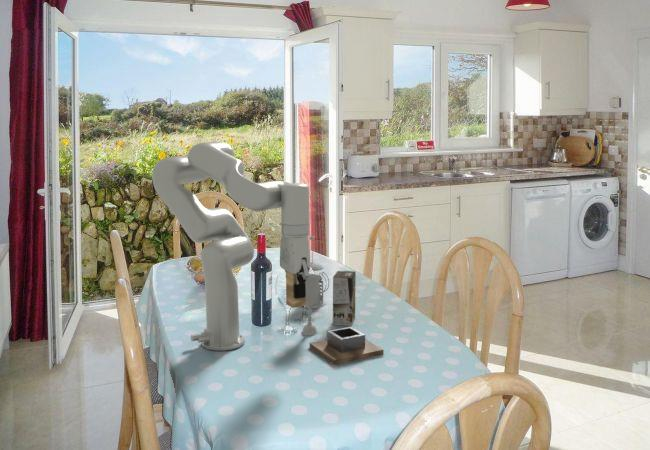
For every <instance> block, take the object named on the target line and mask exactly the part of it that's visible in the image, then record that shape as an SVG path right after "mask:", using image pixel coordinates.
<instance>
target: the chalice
mask: <svg viewBox="0 0 650 450" xmlns="http://www.w3.org/2000/svg"><path fill="white" fill-rule="evenodd" d="M321 277H322V275H321V274H320V275H319V274H314V273H313V274H312V273H309V277H308V278H307V280H306V306H308V308H307V311H306V313H307V317H306V319H307V323H306V324H305V325H303V328H302V331H301V334H302V335H305V336H314V335H315V336H316V335H317V334H318V333H319V332H318V331H317V327H316V325H314V324H313V323H312V319H313V317H312V313H313V311H312V308H311V306H312V305H314V304H315V301H316V299H317V297H318V294H319V284H320V283H319V280H320V278H321Z"/></svg>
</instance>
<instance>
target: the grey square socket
mask: <svg viewBox="0 0 650 450" xmlns="http://www.w3.org/2000/svg"><path fill="white" fill-rule="evenodd" d="M326 338H327V344H328V345H329V346H331V347H332V348H334V349H335V350H337V351H338V352H340V353H344V352H349V351H354V350H358V349H363V348H365V339H366V334H365V333H363V332H361V331H360V330H358V329H356V328H354V327H352V326H347V327H346V326H345V327H343V328H337V329H331V330H327V331H326Z"/></svg>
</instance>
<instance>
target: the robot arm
mask: <svg viewBox="0 0 650 450" xmlns="http://www.w3.org/2000/svg"><path fill="white" fill-rule="evenodd" d="M244 172H245V166H244V163H243V162H242V161H241V160H240V159H238V158H237V157H235V153H234V150H233V148H232V147H231V146H230V145H229V144H228V143H227V142H223V141H209V142H208V141H205V142H198V143H196V144H194V145H193V146H192V147H190V149H189V150H188V152H187V155H186V154H185V155H175V156H174V155H173V156H168V157H164V158H161V159H160V160H159V161H157V162H156V163H155V165H154V166H153V169H152V174H151V175H152V184H153V188H154V190H155V193H156V194H157V196H158V197H159V199H161V201H162V202H163V203H164V204H165V205H166V207H168V209H169V210H170V211H171V213H172V214H173V215H174V217H175V219H176V220H177V221H178V223H179V224H180V226H181V227H182V228H183V231H184V232H185V233H186V235H187V236H188V237H189V238H190V240H191V241H193V242H194V243H196V244H203V243H207V242H208V243H207V244H205V245H204V247H203V248H202V250H201V252H200V263H201V264H200V265H201V267H202V274H203V278H204V289H205V290H204V291H205V292H204V293H205V311H206V312H205V313H206V315H205V316H206V317H205V319H206V328H203V331H202V332H201V333H199V334H198V333H196V334H191V335H190V340H191V342H197V343H199V344H200V343H201V345H202V348H205V349H207V350H211V351H218V352H219V351H220V352H221V351H231V350H235V349H238V348H240V347H242V346H243V345H244V344H245V337H244V336H243V335H241V334H240V322H239V321H240V317H239V316H240V315H239V313H240V312H239V287H238V281H237V279H236V277H235V274H234V272H233V270H235V269H237V268H240V267H242V266H246V265H248V264H249V263H251V261H253V259H254V257H255V247H254V245H253V244H254V243H253V242H252V240H251V238H250V237H249V236H248V234H247V232H246V231H245V230H244V229H243V227H242V226H241V225H240V223H239V222H238V220H237V219H236V217H235V216H234V215H233V213H231V212H230V211H229V210H227V209H225V208H222V207H214V208H213V207H211V208H206V207H205V206H204V205H203V204H202V203H201V201H200V199H199V198H198V197H197V196H196V195H195V193H193V192H192V191H191V190H189V188H186V187H185V186H183V185H185V184H186V185H187V184H193V183H200V182H202V181H205V180H207V179H211V180H213V181H215V182H217V183H218V184H219V185H222V186H224V189H225V191H226V193H227V195H228V196H229V197H230V198H231V199H232V200H233V201H234V202H235V203H237V204H238V205H240V206H242V207H245V208H246V209H247V210H250V211H253V212H259V213H260V212H265V211H269V210H276V209H279V208H280V210H281V211H280V212H281V213H280V215H281V216H280V217H281V218H280V219H281V223H280V224H281V231H280V232H281V233H280V234H281V237H280V248H279V267H280V268H281V269H282V270H284V272H285V273H286V271H288V272H290V273H292V274H295V283H296V284H294V298H295V299H298V298H304V297H305V296H306V280H307V278H308V277H309V274H310V271H309V270H310V262H311V248H310V187H309V185H308V184H305V183H301V182H288V181H287V182H286V181H284V180H269V181H268V180H267V181H262V182H255V181H253V180H251V179H249V178H247V177H245V176H244ZM300 270H302V272H299V271H300ZM298 275H302V276H300V277H298Z"/></svg>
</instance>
